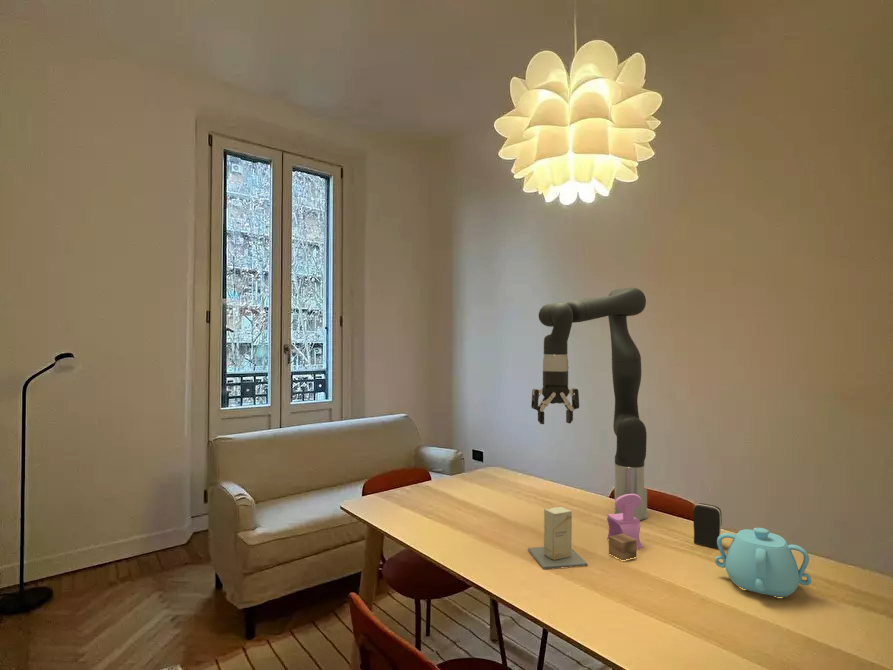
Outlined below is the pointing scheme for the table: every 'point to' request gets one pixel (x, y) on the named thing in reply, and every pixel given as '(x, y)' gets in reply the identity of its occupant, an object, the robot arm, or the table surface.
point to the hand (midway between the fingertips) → (555, 423)
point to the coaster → (558, 563)
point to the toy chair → (625, 518)
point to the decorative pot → (762, 562)
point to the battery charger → (707, 524)
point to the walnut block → (622, 546)
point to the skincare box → (557, 532)
